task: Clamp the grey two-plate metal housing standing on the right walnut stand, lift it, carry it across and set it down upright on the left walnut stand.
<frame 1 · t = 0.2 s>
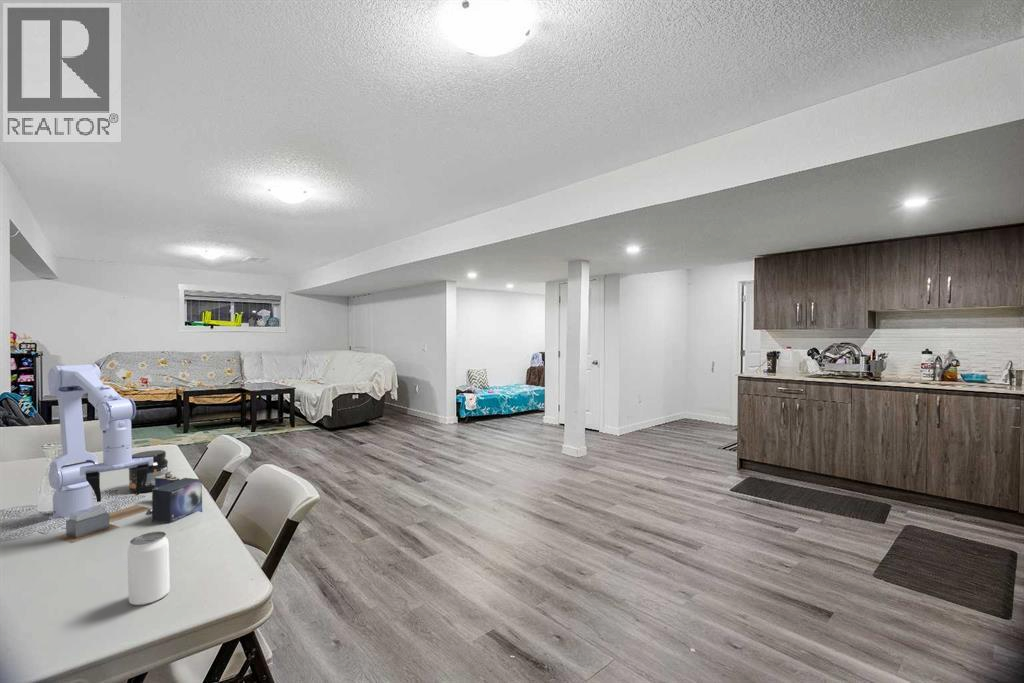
hand: (118, 497, 121), 10 cm above the table, fingers open, 7 cm apart
housing: (88, 531, 119), point 1 cm above the table, touching stand a
supplement container: (149, 489, 157), on the table
stand b: (124, 518, 132), on the table
stand a: (88, 537, 119), on the table
small box: (178, 521, 130), on the table
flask: (168, 507, 141), on the table
can: (149, 597, 92), on the table
loose bolt: (161, 518, 132), on the table
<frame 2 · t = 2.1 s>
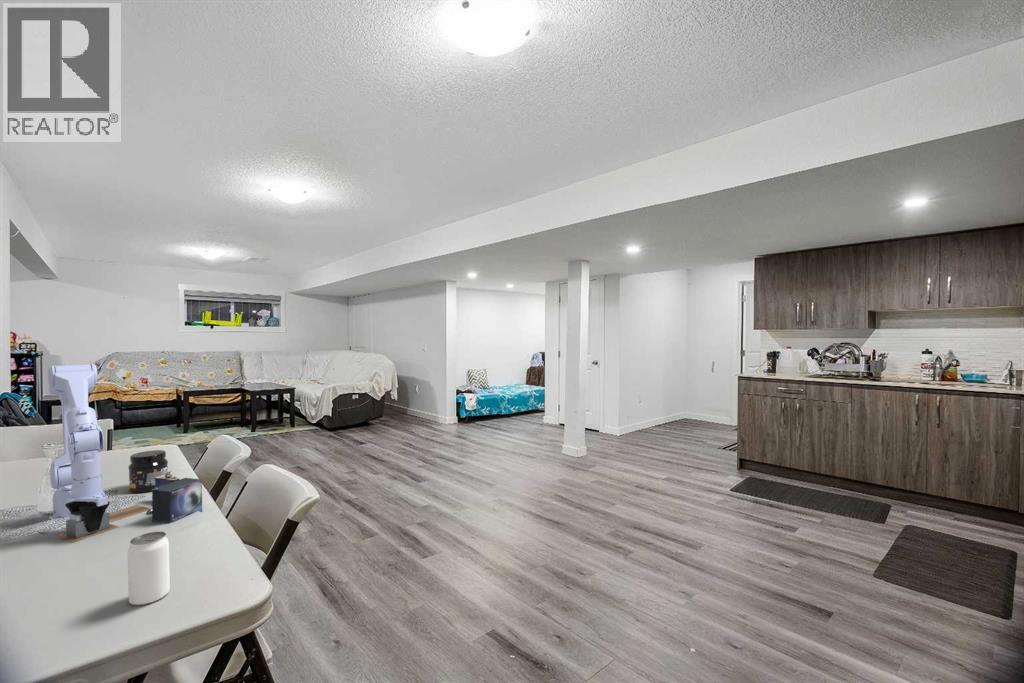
hand: (88, 529, 119), 2 cm above the table, fingers closed on housing, 4 cm apart
housing: (88, 531, 119), point 1 cm above the table, touching gripper, stand a
everything else where it was.
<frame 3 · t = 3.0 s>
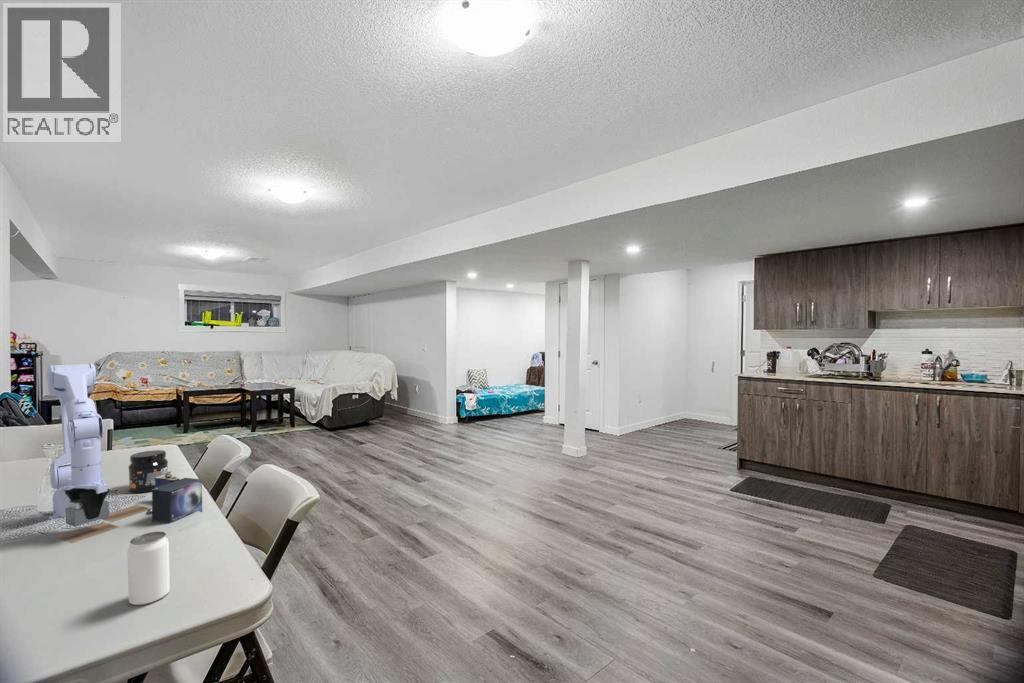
hand: (87, 516, 119), 5 cm above the table, fingers closed on housing, 4 cm apart
housing: (87, 519, 119), point 5 cm above the table, touching gripper
everything else where it was.
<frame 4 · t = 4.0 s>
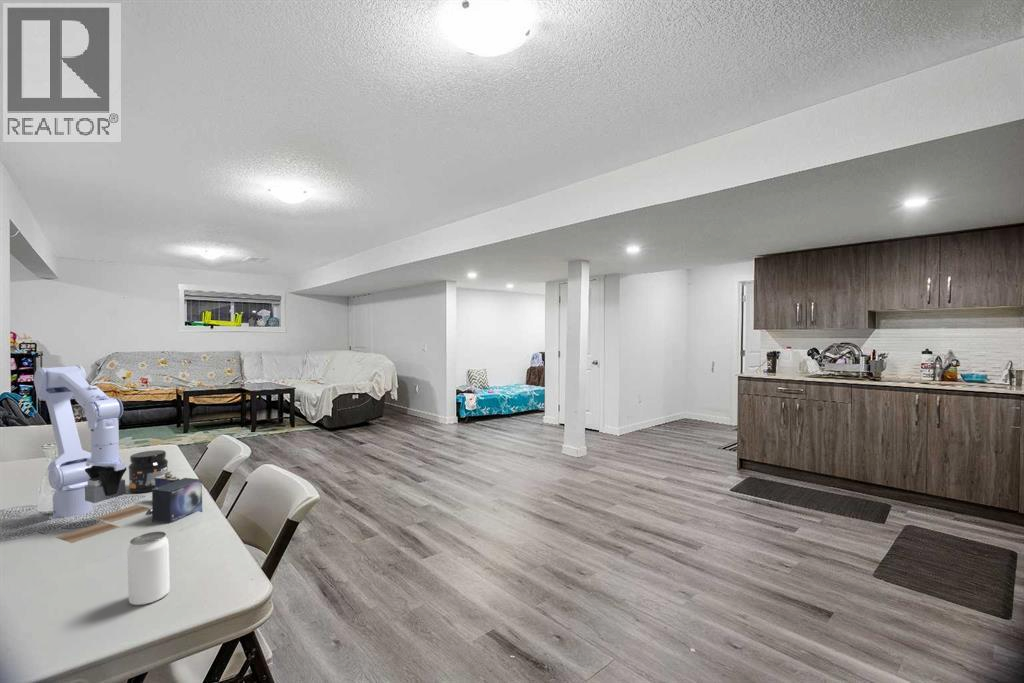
hand: (106, 493, 125), 9 cm above the table, fingers closed on housing, 4 cm apart
housing: (105, 497, 125), point 8 cm above the table, touching gripper
everything else where it was.
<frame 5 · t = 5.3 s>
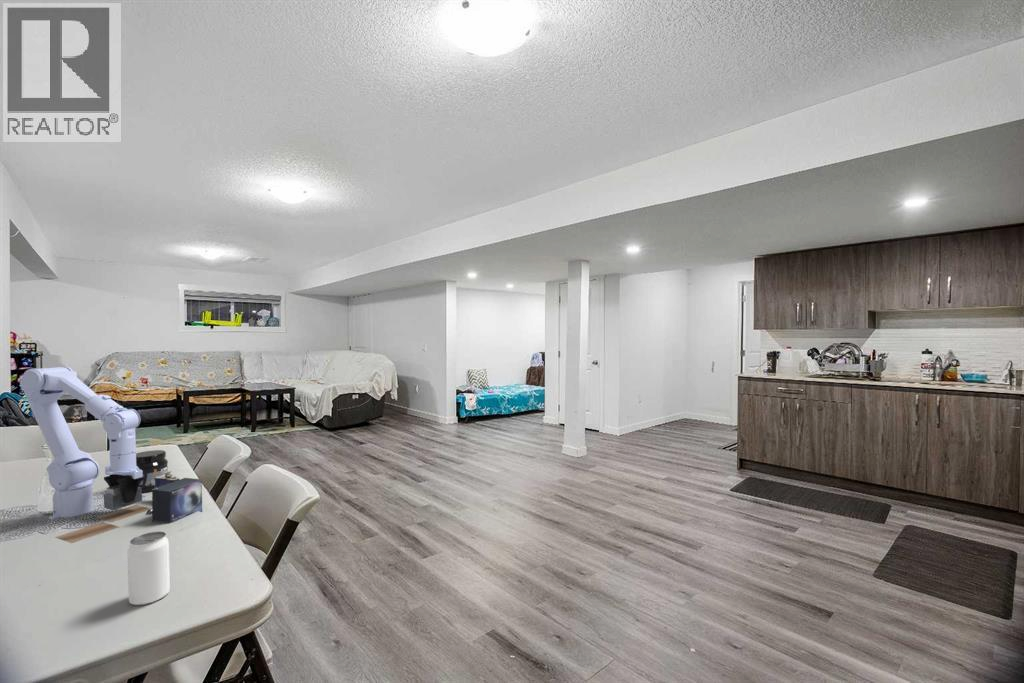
hand: (124, 500, 132), 5 cm above the table, fingers closed on housing, 4 cm apart
housing: (123, 504, 132), point 4 cm above the table, touching gripper
everything else where it was.
when the fingers open (3 cm above the table, at t = 6.2 s): housing stays where it is, resting on stand b.
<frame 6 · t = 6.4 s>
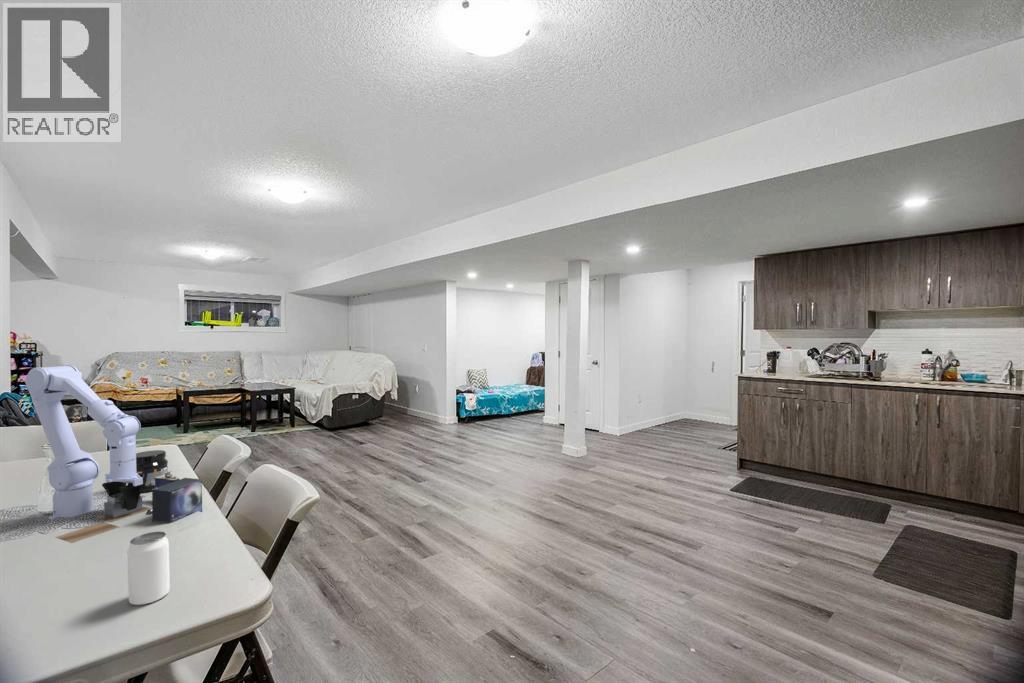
hand: (124, 507, 132), 3 cm above the table, fingers open, 6 cm apart
housing: (123, 513, 132), point 1 cm above the table, touching stand b
everything else where it was.
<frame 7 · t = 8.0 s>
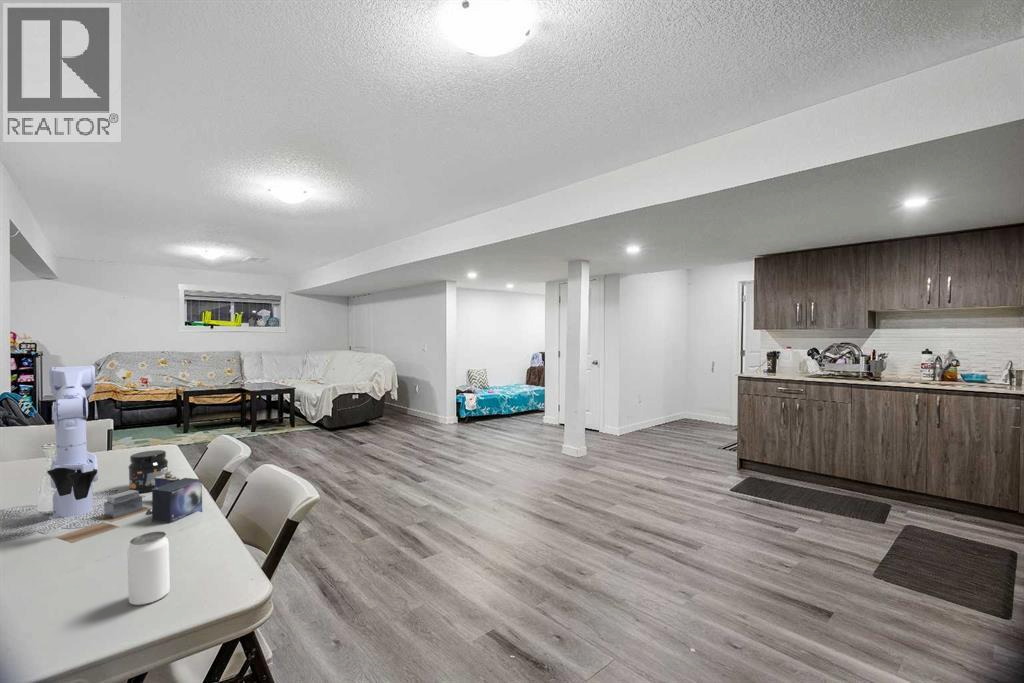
hand: (73, 496, 120), 10 cm above the table, fingers open, 7 cm apart
nothing on the table moved.
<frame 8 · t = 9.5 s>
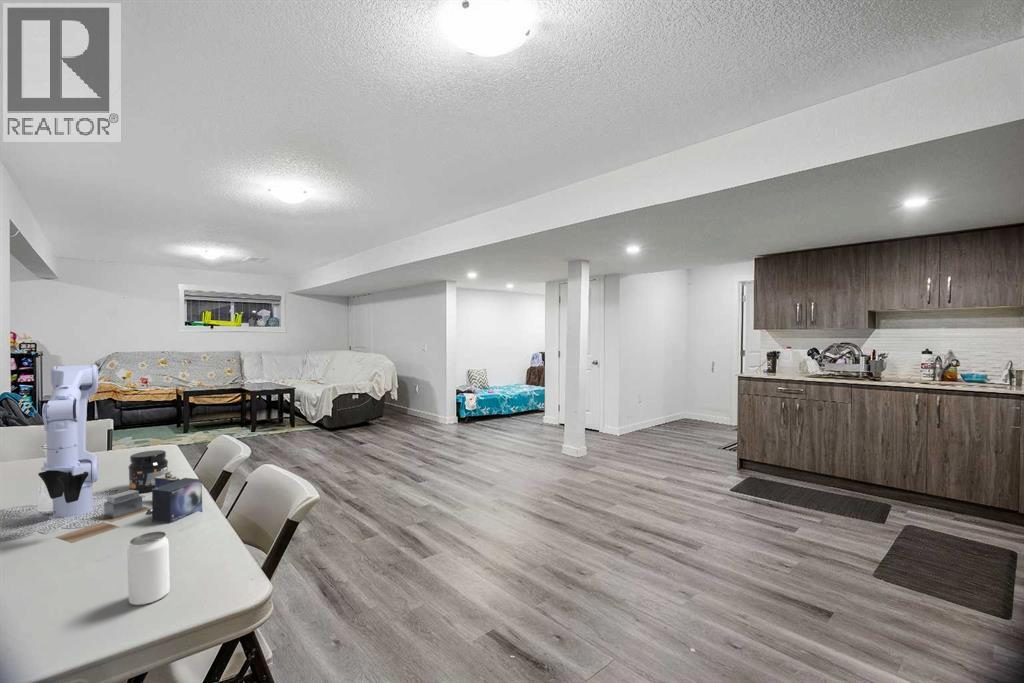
hand: (64, 499, 118), 10 cm above the table, fingers open, 7 cm apart
nothing on the table moved.
at the end: housing 0.2 cm off-centre on the stand b, point 1.5 cm above the stand b's base; housing tilted 0°; the gripper is holding nothing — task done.
